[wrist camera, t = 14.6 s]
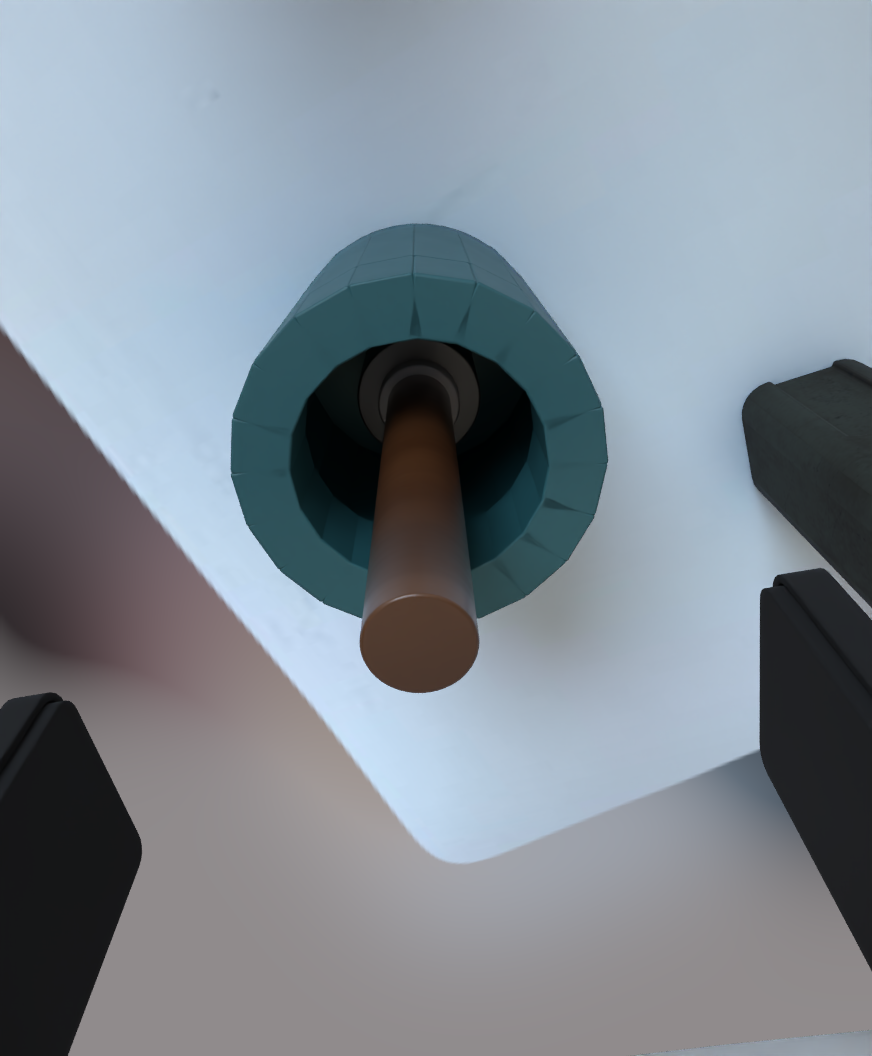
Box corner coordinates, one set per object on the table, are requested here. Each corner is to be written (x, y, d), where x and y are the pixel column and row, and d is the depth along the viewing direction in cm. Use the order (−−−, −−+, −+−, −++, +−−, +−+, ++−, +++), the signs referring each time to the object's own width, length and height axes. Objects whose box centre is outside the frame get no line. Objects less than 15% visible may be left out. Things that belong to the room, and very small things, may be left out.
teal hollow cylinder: (268, 250, 29) (179, 317, 18) (523, 200, 29) (587, 238, 18) (329, 484, 33) (286, 651, 22) (554, 444, 33) (620, 596, 22)
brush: (355, 317, 30) (270, 562, 13) (462, 297, 29) (522, 518, 12) (378, 419, 31) (330, 756, 14) (479, 401, 31) (553, 720, 14)
